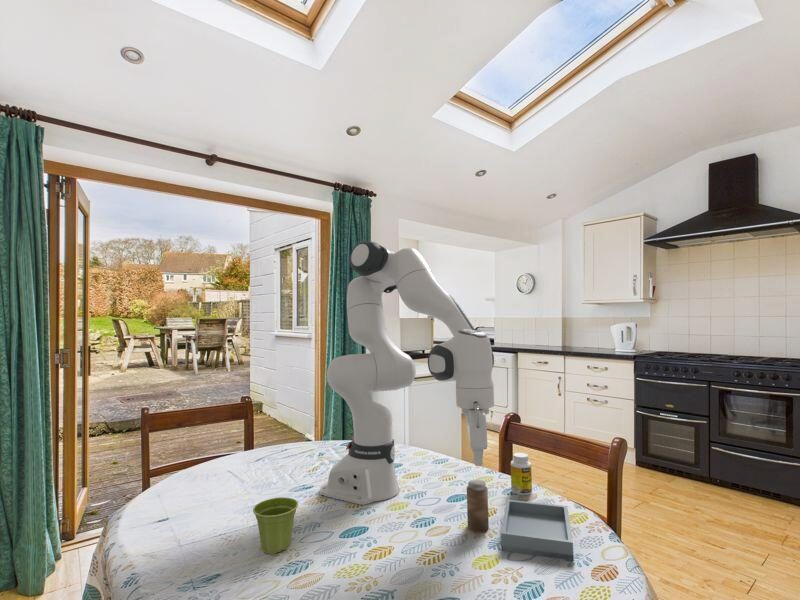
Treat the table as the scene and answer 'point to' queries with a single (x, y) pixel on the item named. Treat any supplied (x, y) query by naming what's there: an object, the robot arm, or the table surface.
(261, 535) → the plant pot
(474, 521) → the shaker
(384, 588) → the table surface
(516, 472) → the supplement bottle
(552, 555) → the tray
